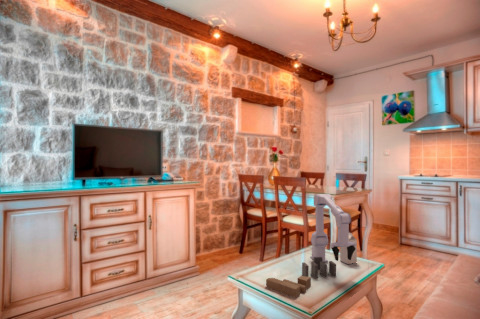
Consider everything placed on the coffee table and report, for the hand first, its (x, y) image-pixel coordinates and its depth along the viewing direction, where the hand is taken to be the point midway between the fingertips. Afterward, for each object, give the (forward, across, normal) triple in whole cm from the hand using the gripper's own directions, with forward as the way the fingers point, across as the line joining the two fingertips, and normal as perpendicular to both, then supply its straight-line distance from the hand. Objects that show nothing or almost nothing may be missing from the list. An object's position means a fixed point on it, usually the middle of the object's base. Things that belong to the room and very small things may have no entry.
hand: (343, 259), depth 147 cm
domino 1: (+10, -20, +5) cm, 23 cm away
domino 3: (+10, -14, +5) cm, 18 cm away
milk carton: (+10, +17, +22) cm, 30 cm away
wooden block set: (+11, -33, -5) cm, 35 cm away
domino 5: (+10, -4, +5) cm, 12 cm away
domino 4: (+10, -9, +5) cm, 14 cm away
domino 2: (+10, -8, +14) cm, 19 cm away
